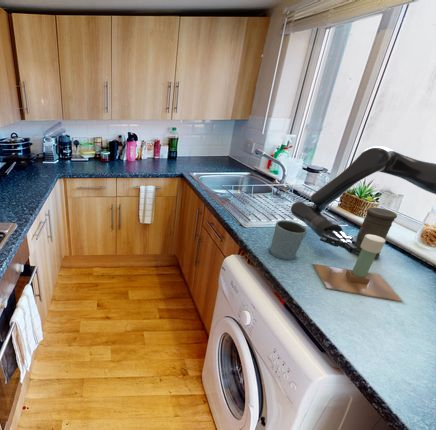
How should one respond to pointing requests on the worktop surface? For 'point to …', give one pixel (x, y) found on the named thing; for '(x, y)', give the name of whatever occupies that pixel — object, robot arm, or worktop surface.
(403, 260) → the worktop surface
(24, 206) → the worktop surface
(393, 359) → the worktop surface
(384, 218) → the container
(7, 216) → the worktop surface
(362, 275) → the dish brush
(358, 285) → the brown flat board
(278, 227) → the grey cup
